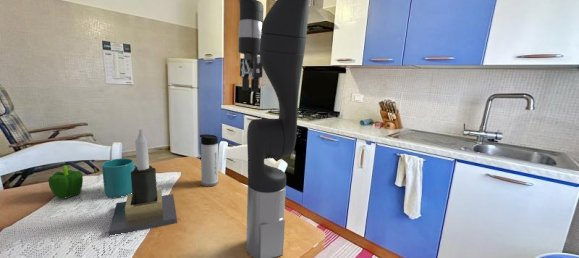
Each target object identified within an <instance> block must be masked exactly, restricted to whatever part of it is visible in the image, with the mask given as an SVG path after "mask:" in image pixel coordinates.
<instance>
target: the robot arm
mask: <svg viewBox="0 0 579 258" xmlns="http://www.w3.org/2000/svg"><path fill="white" fill-rule="evenodd" d="M238 2H239V23H238V53H239V54H242V55H243V58H242V57H241V58H240V59H239V77H241V82H242V83H241V89H242V91H249V90H250V91H251V92H253V93H258V92H259V86H260V85H259V81H260V79H261V78H263V71H264V74H265V75H266V76H267V79H268V81H269V82H270V84H271V86H272V88H273V90H274V92H275V95H276V98H277V101H278V113H279V114H278V118H255V119H251V120H250V122H249V124H248V125H247V132H246V143H247V144H246V146H247V200H246V201H247V205H246V208H247V209H246V210H247V211H246V244H245V245H246V247H245V248H246V251H247V253H248V254H249V256H251V257H253V258H277V257H280V256H282V255H284V245H285V244H284V243H285V241H284V240H285V230H286V229H285V227H286V225H285V224H286V220H285V207H286V192H287V191H286V189H287V187H286V186H287V174H286V173H285V171H284V170H282V169H280V168H278V167H274V166H270V165H267V164H266V163H265V160H266V159H278V158H279V159H280V158H287V157H289V156H292V154H293V153H294V151H295V147H296V143H297V142H296V141H297V130H298V110H299V109H298V108H299V94H300V85H301V78H302V77H301V76H302V70H303V65H304V63H303V62H304V57H305V50H306V49H305V48H306V42H307V35H308V34H307V33H308V23H309V13H310V12H309V11H310V5H311V3H310V2H311V0H276V1H275V2H274V3H273V5H272V6H271V8H270V9H269V11H268V12H267V13H266V15H265V17H264V5H263V3H262V2H261V1H260V0H238ZM250 79H251V80H250Z"/></svg>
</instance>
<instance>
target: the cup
mask: <svg viewBox="0 0 579 258" xmlns="http://www.w3.org/2000/svg"><path fill="white" fill-rule="evenodd" d="M136 167H137V164H135V161H134V159H132V158H128V157H127V158H125V157H124V158H112V159H109V160H107V161H104V162H102V164H101V170H102V171H101V172H102V173H101V174H102V180H103V181H102V182H103V191H104V196H105V197H106V198H109V197H119V198H122V197H121V196H124V197H127V196H128V194H131V193H132V183H131V172H132V171H134V168H136ZM126 195H127V196H126Z"/></svg>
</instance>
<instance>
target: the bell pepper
mask: <svg viewBox="0 0 579 258" xmlns="http://www.w3.org/2000/svg"><path fill="white" fill-rule="evenodd" d="M62 169H63V171H56V172H55V173H53V175H51V176H49V178H48V186H49V188H50V190H51V193H52V194H53V196H54V197H56V198H57V199H59V198H64V199H66V198H65V197H68V198H69V197H74V196H73V195H75V196H77V195H76V194H78V193H79V194H80V193H81V192H82V188H83V184H84V183H83V182H84V181H83V180H84V179H83V178H84V177H83V172H82V171H81V170H72V169H68V166H67V165H66V164H65V165H63V166H62ZM79 194H78V195H79Z"/></svg>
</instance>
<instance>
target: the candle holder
mask: <svg viewBox="0 0 579 258" xmlns="http://www.w3.org/2000/svg"><path fill="white" fill-rule="evenodd" d="M162 191H163V190H162V189H159V188H158V189H157V201H154V202H148V203H142V204H136V205H133V196H132V194H128V195H127V196H126V201H120V202H117V203H116V204H115V208H114V211H113V215H112V218H111V221H110V225H109V228H108V231H107V233H108V237H109V236H110V235H115V234H121V233H126V234H129V233H128V232H130V233H134V232H133V231H135V232H138V231H137V230H140V231H144V230H148V229H149V230H150V229H154V228H158V227H162V226H169V225H172V224H177V223H178V218H177V212H176V204H175V199H174V198H175V197H174V194H170V193H169V194H166V195H163V194H162ZM121 235H122V234H121Z"/></svg>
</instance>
